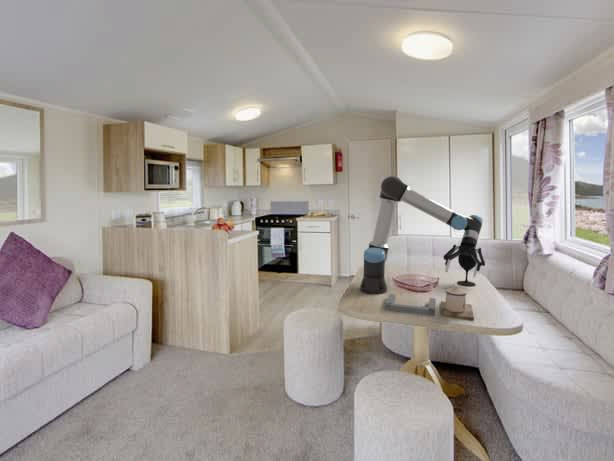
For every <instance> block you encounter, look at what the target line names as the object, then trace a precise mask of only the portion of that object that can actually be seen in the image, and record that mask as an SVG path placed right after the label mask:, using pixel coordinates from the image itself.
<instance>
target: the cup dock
mask: <svg viewBox="0 0 614 461" xmlns="http://www.w3.org/2000/svg"><path fill="white" fill-rule="evenodd" d="M396 295H397V294H396V293H389V295H388V296H387V299H386V301H385V303H384V311H385V310H386V311H394V312H400V313H401V312H403V313H409V314H418V315H427V316H436V306H437V304H436V302H437V299H436V298H435V297H429V300H428V301H429V302H428V307H426V306H420V305H419V306H417V305H409V304H401V303H395V300H396V298H397V297H396Z"/></svg>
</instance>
